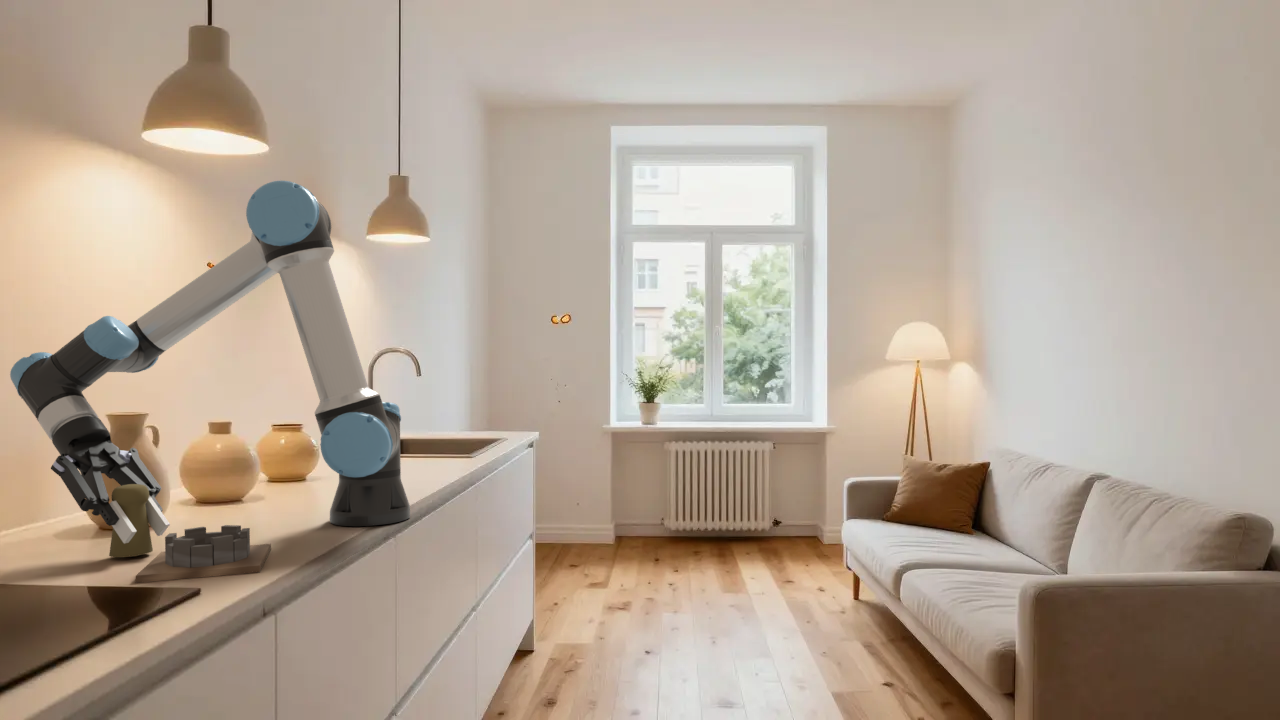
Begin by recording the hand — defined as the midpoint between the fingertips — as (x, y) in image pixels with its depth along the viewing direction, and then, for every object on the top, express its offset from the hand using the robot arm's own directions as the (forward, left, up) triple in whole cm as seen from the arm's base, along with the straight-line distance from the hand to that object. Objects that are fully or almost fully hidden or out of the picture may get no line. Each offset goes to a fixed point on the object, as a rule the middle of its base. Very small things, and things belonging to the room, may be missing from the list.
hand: (147, 533), depth 131 cm
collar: (-10, +9, -4) cm, 14 cm away
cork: (+3, -2, -4) cm, 5 cm away
